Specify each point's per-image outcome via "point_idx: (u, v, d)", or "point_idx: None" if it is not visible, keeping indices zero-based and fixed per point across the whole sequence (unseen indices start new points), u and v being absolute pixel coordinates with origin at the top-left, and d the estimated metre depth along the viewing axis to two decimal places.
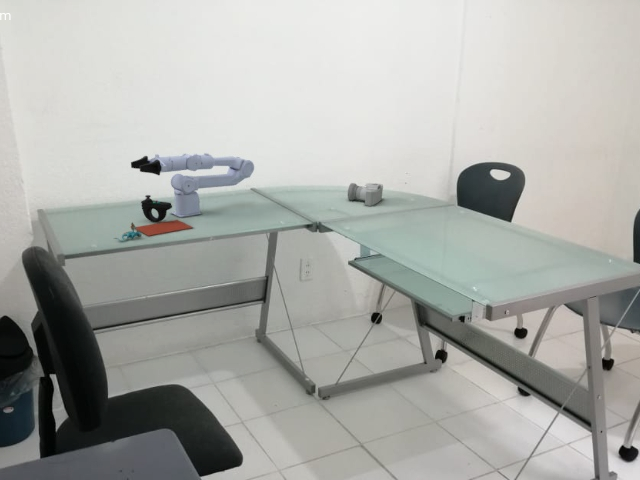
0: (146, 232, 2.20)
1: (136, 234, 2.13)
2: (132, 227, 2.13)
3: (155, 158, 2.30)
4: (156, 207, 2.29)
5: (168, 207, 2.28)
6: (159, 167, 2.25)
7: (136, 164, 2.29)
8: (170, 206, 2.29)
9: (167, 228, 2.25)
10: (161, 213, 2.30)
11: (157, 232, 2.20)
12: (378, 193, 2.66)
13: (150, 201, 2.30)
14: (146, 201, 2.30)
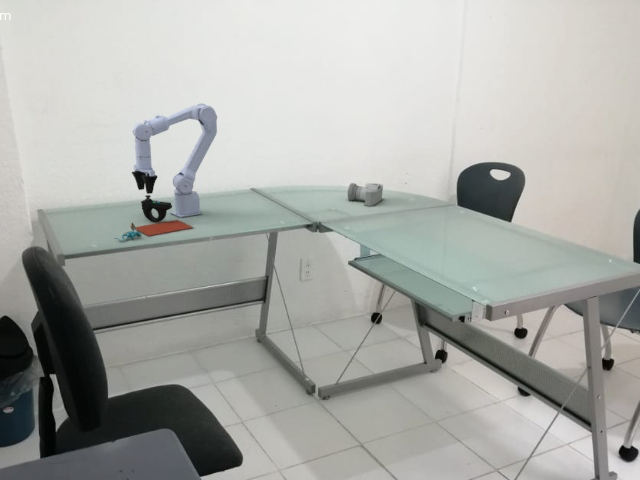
0: (146, 232, 2.20)
1: (136, 234, 2.13)
2: (132, 227, 2.13)
3: None
4: (156, 207, 2.29)
5: (168, 207, 2.28)
6: (150, 177, 2.28)
7: (140, 184, 2.37)
8: (170, 206, 2.29)
9: (167, 228, 2.25)
10: (161, 213, 2.30)
11: (157, 232, 2.20)
12: (378, 193, 2.66)
13: (150, 201, 2.30)
14: (146, 201, 2.30)
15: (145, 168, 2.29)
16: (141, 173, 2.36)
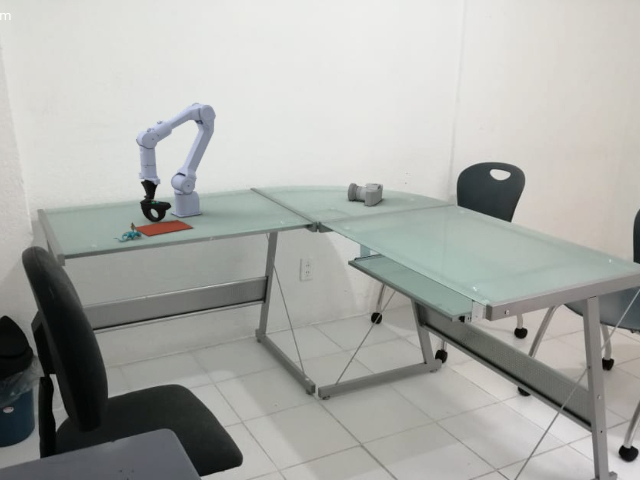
0: (146, 232, 2.20)
1: (136, 234, 2.13)
2: (132, 227, 2.13)
3: None
4: (156, 208, 2.29)
5: (167, 207, 2.28)
6: (151, 183, 2.29)
7: None
8: (169, 206, 2.29)
9: (167, 228, 2.25)
10: (161, 213, 2.29)
11: (157, 232, 2.20)
12: (378, 193, 2.66)
13: (149, 201, 2.30)
14: (145, 202, 2.29)
15: (150, 176, 2.28)
16: None
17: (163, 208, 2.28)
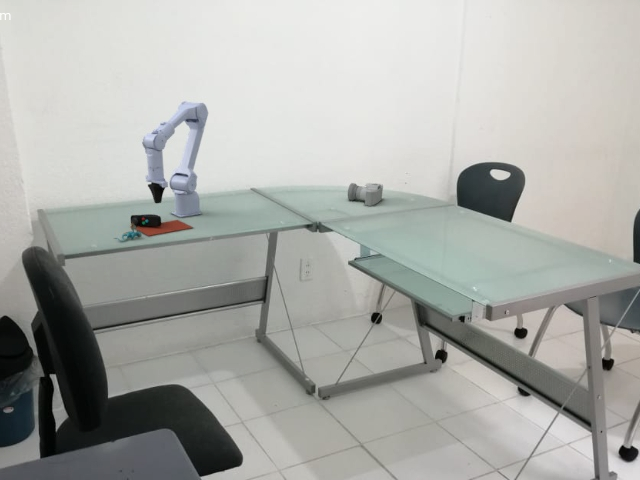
0: (146, 232, 2.20)
1: (136, 234, 2.13)
2: (132, 227, 2.13)
3: None
4: None
5: (160, 224, 2.24)
6: (159, 186, 2.25)
7: None
8: (160, 221, 2.24)
9: (167, 228, 2.25)
10: None
11: (157, 232, 2.20)
12: (378, 193, 2.66)
13: (139, 222, 2.25)
14: (136, 224, 2.26)
15: (157, 179, 2.23)
16: None
17: None
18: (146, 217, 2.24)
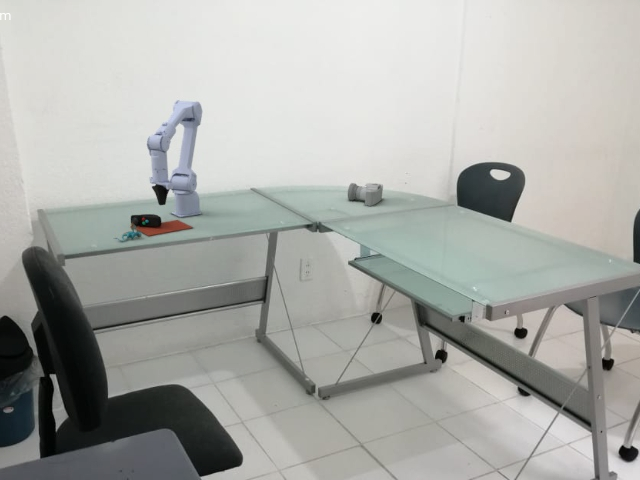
0: (146, 232, 2.20)
1: (136, 234, 2.13)
2: (132, 227, 2.13)
3: None
4: None
5: (160, 225, 2.24)
6: (163, 188, 2.22)
7: None
8: (160, 221, 2.24)
9: (167, 228, 2.25)
10: None
11: (157, 232, 2.20)
12: (378, 193, 2.66)
13: (139, 222, 2.25)
14: (136, 224, 2.26)
15: (162, 181, 2.21)
16: None
17: None
18: (146, 217, 2.24)
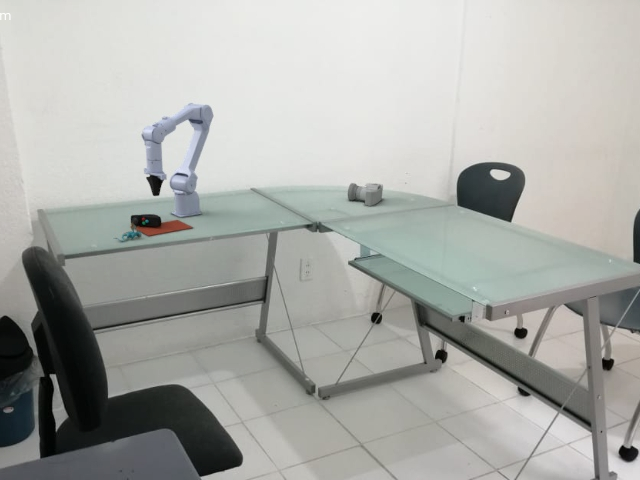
0: (146, 232, 2.20)
1: (136, 234, 2.13)
2: (132, 227, 2.13)
3: None
4: None
5: (160, 225, 2.24)
6: (157, 179, 2.25)
7: None
8: (160, 221, 2.24)
9: (167, 228, 2.25)
10: None
11: (157, 232, 2.20)
12: (378, 193, 2.66)
13: (139, 222, 2.25)
14: (136, 224, 2.26)
15: (156, 171, 2.24)
16: None
17: None
18: (146, 217, 2.24)
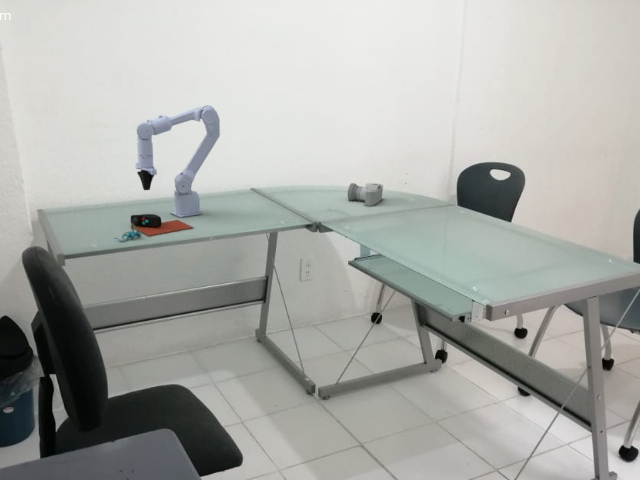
0: (146, 232, 2.20)
1: (136, 234, 2.13)
2: (132, 227, 2.13)
3: None
4: None
5: (160, 225, 2.24)
6: (148, 174, 2.33)
7: None
8: (160, 221, 2.24)
9: (167, 228, 2.25)
10: None
11: (157, 232, 2.20)
12: (378, 193, 2.66)
13: (139, 222, 2.25)
14: (136, 224, 2.26)
15: (147, 167, 2.32)
16: None
17: None
18: (146, 217, 2.24)
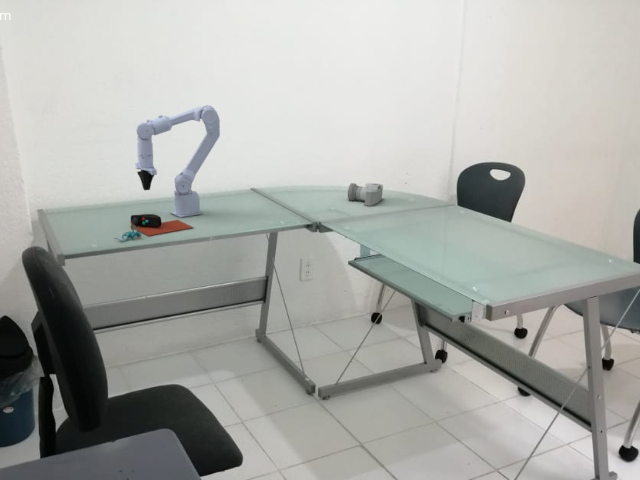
0: (146, 232, 2.20)
1: (136, 234, 2.13)
2: (132, 227, 2.13)
3: None
4: None
5: (160, 225, 2.24)
6: (148, 174, 2.33)
7: None
8: (160, 221, 2.24)
9: (167, 228, 2.25)
10: None
11: (157, 232, 2.20)
12: (378, 193, 2.66)
13: (139, 222, 2.25)
14: (136, 224, 2.26)
15: (147, 167, 2.32)
16: None
17: None
18: (146, 217, 2.24)
